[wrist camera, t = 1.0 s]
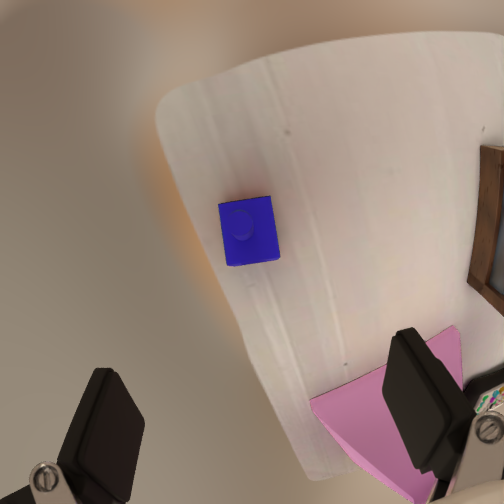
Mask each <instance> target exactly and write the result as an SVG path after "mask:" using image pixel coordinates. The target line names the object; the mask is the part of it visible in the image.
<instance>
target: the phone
mask: <svg viewBox="0 0 504 504" xmlns="http://www.w3.org/2000/svg"><path fill="white" fill-rule="evenodd" d="M464 395H465V396H466V398H467V399H468V401H469V402H470V404H471V405H472V407H473V409H474V410H475V412H476V413H477V415H478V414H479V413H481V412H484V411H487V410H489V409H493V408H495V407H496V406H498V405H500V404H502V403H504V368H503V369H501V370H499V371H497V372H495V373H493V374H490V375H488V376H484V377H481V378H477V379H475V380H473V381H472V382H471V383H470V384H469V385H468V388H467V389H466V391H465V393H464Z"/></svg>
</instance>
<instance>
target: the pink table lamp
mask: <svg viewBox="0 0 504 504" xmlns="http://www.w3.org/2000/svg"><path fill="white" fill-rule="evenodd" d="M425 343H426V344H427V346H428V347H429V349H430V350H431V351H432V353H433V354H434V356H435V357H436V358H438V359H440V360H441V361H442V362H443V364H444V365H445V367H446V368H447V370H448V371H449V372H450V374H451V375H452V377H453V378H454V380H455V381H456V383H457V384H458V386H459V387H460V389H461V390H462V392H463V387H462V358H461V343H460V333H459V332H458V331H457V329H456V328H455V327H454V326H453V325H452V326H451V327H449V328H448V329H446V330H444V331H443V332H441V333H440V334H438V335H436V336H435V337H433V338H432V339H430V340H428V341H427V342H425ZM386 367H387V364H386V365H384V366H382V367H380V368H378V369H376V370H374V371H372V372H370V373H368V374H366V375H364V376H362V377H360V378H358V379H356V380H354V381H352V382H350V383H348V384H345V385H343V386H341V387H339V388H337V389H334V390H332V391H330V392H327V393H325V394H323V395H320V396H318V397H316V398H313V399H311V400H310V404H311V408H312V411H313V412H314V414H315V415H316V416H317V417H318V419H319V420H320V421H321V423H322V424H323V425H324V426H325V428H326V429H327V430H328V431H329V433H330V434H331V435H332V436H333V437H334V439H335V440H336V441H337V442H338V444H339V445H340V446H341V447H342V448H343V450H344V451H345V452H346V453H347V455H348V456H349V457H350V458H351V459H352V461H353V462H354V463H356V464H357V465H358V466H360V467H361V468H363V469H364V470H365V471H367V472H368V473H369V474H371V475H372V476H374V477H375V478H376V479H378V480H379V481H381V482H382V483H384V484H385V485H387V486H388V487H390V488H391V489H392V490H394V491H395V492H397V493H398V494H400V495H401V496H403V497H404V498H406V499H407V500H409V501H411V502H412V503H414V504H425V503H426V501H427V499H428V496H429V494H430V491H431V489H432V486H433V484H434V481H435V479H436V478H435V476H434V474H433V472H432V471H429V472H427V473H425V474H422V475H421V472H420V470H419V469H415V468H414V466H413V464H412V462H411V459H410V457H409V454H408V452H407V450H406V447H405V445H404V443H403V440H402V438H401V436H400V433H399V431H398V429H397V427H396V424H395V422H394V420H393V418H392V415H391V413H390V411H389V409H388V407H387V404H386V402H385V400H384V398H383V395H382V385H383V381H384V376H385V371H386Z"/></svg>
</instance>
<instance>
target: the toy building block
mask: <svg viewBox="0 0 504 504" xmlns="http://www.w3.org/2000/svg"><path fill="white" fill-rule="evenodd" d="M218 208H219V215H220V222H221V229H222V236H223V243H224V250H225V257H226V263H227V266H241V265H247V264H254V263H260V262H267V261H273V260H277V259H279V258H280V251H279V244H278V238H277V232H276V226H275V220H274V214H273V208H272V202H271V196H264V197H257V198H251V199H244V200H238V201H232V202H226V203H220V204H218Z"/></svg>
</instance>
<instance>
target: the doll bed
mask: <svg viewBox="0 0 504 504" xmlns="http://www.w3.org/2000/svg"><path fill="white" fill-rule="evenodd" d="M480 147H481V158H480V188H479V202H478V213H477V223H476V231H475V239H474V246H473V252H472V258H471V264H470V269H469V274H468V279H467V283H468V284H470V285H471V286H472V287H473V288H474V289H475V290H476V291H477V292H478V293H479V294H480V295H482V296H483V297H484V298H485V299H486V300H487V301H488V302H489V303H490V304H491V305H492V306H493V307H494V308H495V309H496V310H497V311H498V312H499V313H500V314H501V315H502V316H503V317H504V147H500V146H484V145H481V146H480Z"/></svg>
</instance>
